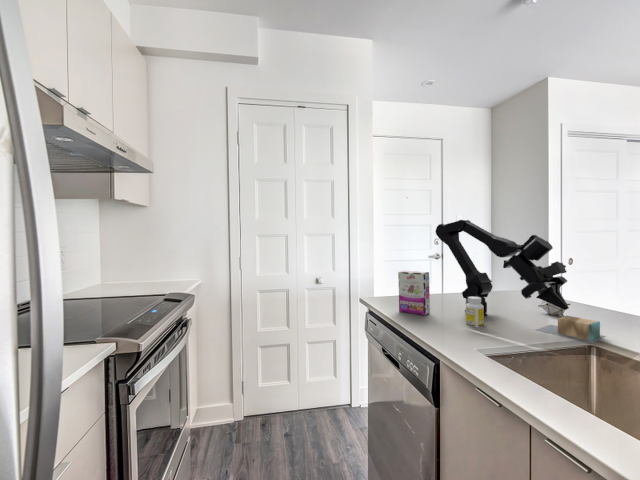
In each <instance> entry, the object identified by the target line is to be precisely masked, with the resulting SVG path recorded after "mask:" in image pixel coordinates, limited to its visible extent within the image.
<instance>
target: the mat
mask: <svg viewBox="0 0 640 480" xmlns="http://www.w3.org/2000/svg"><path fill="white" fill-rule="evenodd" d="M535 331H537V332H542V333H547V334H551V335H554V336H555V335H556V336H557V337H558V336H559V337H563V338H567V339H571V340H576V341H580V342H584V343H589V344H594V343H596V342H598V341H600V340H601V339H603V338H605V337H606V335H602V334H600V337H599V338H597V339H595V340H593V341H589V340H585V339H581V338H576V337H572V336H568V335H563V334H559V333H558V325H554V324H547V325H544V326H542V327H539V328H536V329H535Z"/></svg>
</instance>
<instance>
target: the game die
mask: <svg viewBox="0 0 640 480" xmlns="http://www.w3.org/2000/svg"><path fill="white" fill-rule="evenodd" d="M571 304H572V303H567V305H568V306H571ZM540 307H541V308H542V309H543V310H544V311H545V312H546V313H547V314H548V316H561V317H564V316H565V315H564V313H565V312H566V310H564V309H562V308H559V307H557V306H555V305H553V304H551V303H548V302H546V301H544V300H542V302H541V303H540V304H539V305H538V308H540Z"/></svg>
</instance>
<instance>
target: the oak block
mask: <svg viewBox="0 0 640 480" xmlns="http://www.w3.org/2000/svg"><path fill="white" fill-rule="evenodd" d="M557 326H558V333H559V334H563V335H568V336H572V337H576V338H581V339H585V340H589V341H593V340H595V339H597V338H599V337H600V335H601V322H600V320H593V319H588V318H582V317H578V316H577V317H576V316H572V315H564V316H561V317H558V318H557Z"/></svg>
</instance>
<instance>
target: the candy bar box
mask: <svg viewBox="0 0 640 480" xmlns="http://www.w3.org/2000/svg"><path fill="white" fill-rule="evenodd" d="M397 278H398V311H399V312H400V313H405V314H413V315H420V316H427V315H429V314H431V306H430V305H431V300H430V296H431V295H430V272H428V271H417V270H416V271H415V270H414V271H413V270H412V271H411V270H401V271H398V277H397Z"/></svg>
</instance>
